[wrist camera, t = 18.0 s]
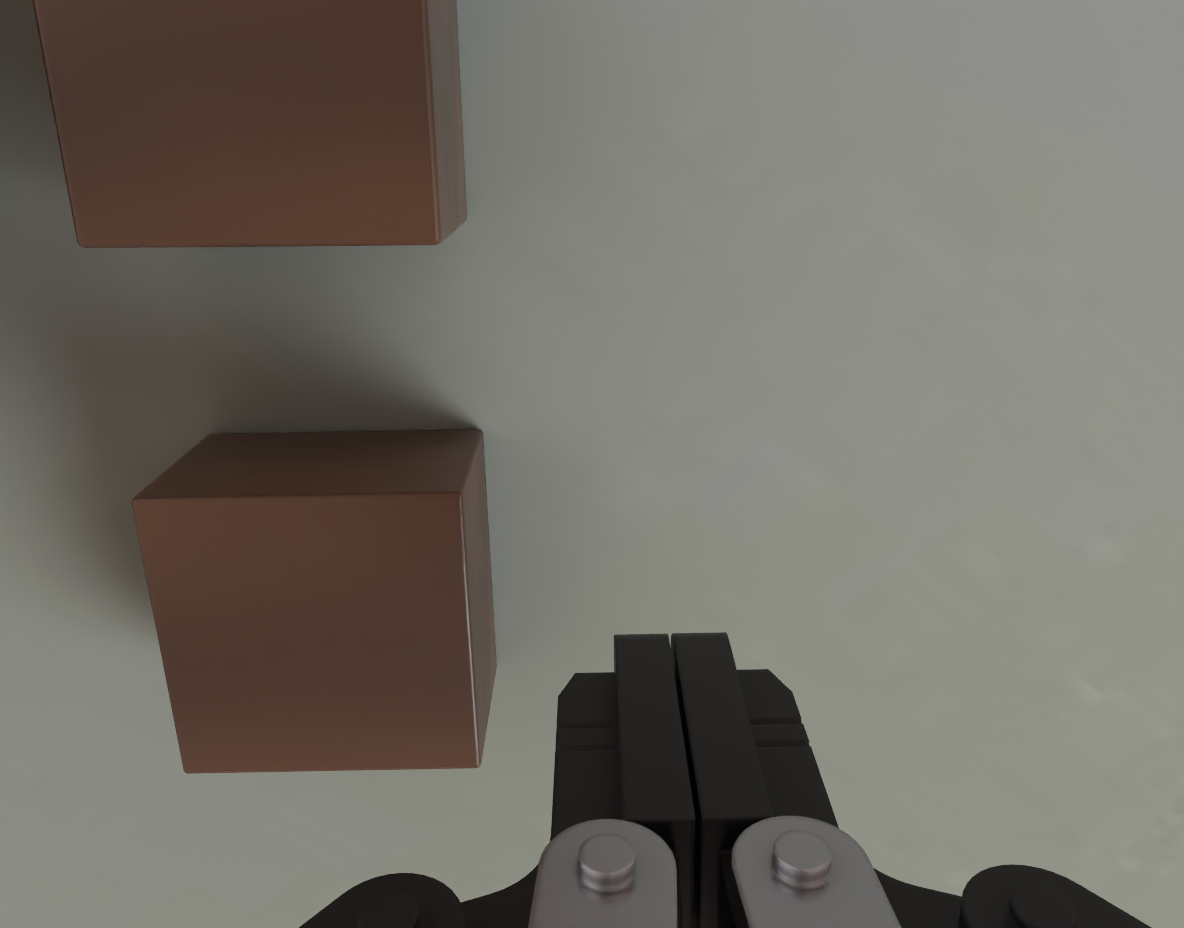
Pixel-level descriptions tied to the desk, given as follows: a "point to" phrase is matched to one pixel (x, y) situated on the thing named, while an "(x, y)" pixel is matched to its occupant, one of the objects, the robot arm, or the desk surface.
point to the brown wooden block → (257, 121)
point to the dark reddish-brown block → (324, 600)
